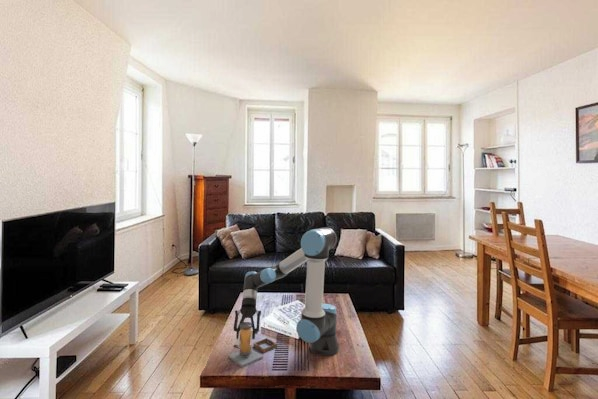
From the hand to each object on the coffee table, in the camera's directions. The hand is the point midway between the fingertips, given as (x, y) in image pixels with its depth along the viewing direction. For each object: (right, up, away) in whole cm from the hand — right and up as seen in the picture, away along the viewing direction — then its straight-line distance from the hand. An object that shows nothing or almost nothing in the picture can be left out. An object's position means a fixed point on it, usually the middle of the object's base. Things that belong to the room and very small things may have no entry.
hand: (244, 345), depth 156 cm
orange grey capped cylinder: (0, -5, +4) cm, 6 cm away
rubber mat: (0, -8, +4) cm, 9 cm away
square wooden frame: (+8, -7, +15) cm, 19 cm away
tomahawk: (-1, -8, +23) cm, 24 cm away
